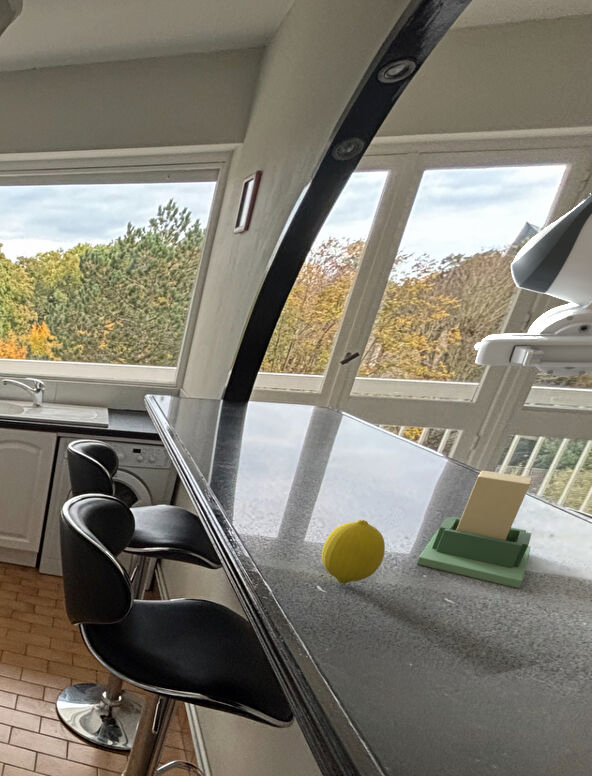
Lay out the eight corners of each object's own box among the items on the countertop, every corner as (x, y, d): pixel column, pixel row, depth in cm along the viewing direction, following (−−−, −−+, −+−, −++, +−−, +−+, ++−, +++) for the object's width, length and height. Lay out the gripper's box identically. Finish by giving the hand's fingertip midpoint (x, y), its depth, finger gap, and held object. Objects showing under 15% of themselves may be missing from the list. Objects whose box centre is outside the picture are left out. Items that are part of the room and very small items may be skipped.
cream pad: (453, 541, 80) (482, 470, 76) (499, 551, 76) (532, 477, 73) (448, 550, 77) (477, 476, 73) (496, 560, 74) (530, 484, 70)
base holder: (436, 534, 85) (446, 508, 83) (527, 553, 79) (540, 525, 77) (416, 564, 75) (427, 535, 74) (518, 588, 69) (533, 557, 67)
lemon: (347, 596, 67) (370, 530, 64) (302, 576, 72) (321, 514, 69) (383, 590, 68) (407, 526, 65) (337, 571, 73) (357, 510, 70)
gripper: (481, 322, 91) (482, 335, 82) (698, 318, 78) (728, 333, 69) (468, 364, 93) (468, 381, 84) (676, 367, 80) (701, 387, 71)
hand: (586, 359), depth 76 cm, fingers open, 8 cm apart
